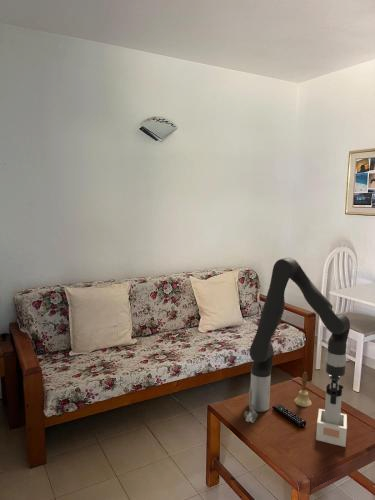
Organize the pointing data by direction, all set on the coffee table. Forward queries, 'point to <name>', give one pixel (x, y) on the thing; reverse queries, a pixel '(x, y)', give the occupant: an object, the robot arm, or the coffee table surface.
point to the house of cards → (251, 414)
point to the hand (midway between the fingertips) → (333, 399)
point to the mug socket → (331, 430)
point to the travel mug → (333, 407)
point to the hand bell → (303, 394)
